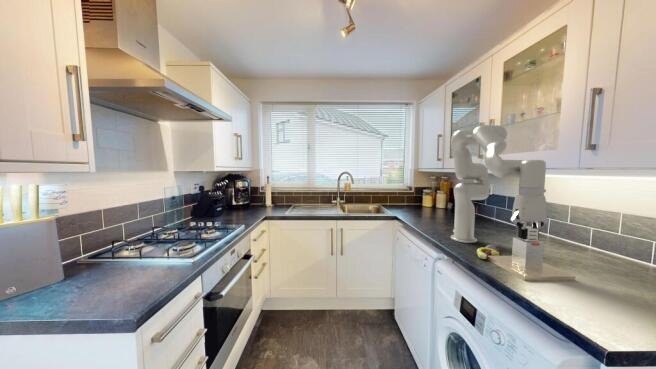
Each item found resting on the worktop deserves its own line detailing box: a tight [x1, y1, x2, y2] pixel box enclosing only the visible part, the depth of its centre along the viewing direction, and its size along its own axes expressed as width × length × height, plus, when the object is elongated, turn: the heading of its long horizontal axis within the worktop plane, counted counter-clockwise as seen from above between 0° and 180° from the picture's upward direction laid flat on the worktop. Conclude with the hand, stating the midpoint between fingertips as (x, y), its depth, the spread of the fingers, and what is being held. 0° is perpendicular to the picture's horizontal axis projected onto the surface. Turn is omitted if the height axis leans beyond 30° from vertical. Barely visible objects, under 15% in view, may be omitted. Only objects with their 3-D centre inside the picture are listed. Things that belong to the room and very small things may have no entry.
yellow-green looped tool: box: [476, 243, 505, 260], centre depth 111 cm, size 8×3×25 cm
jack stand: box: [486, 237, 576, 282], centre depth 94 cm, size 20×18×12 cm
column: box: [518, 225, 539, 242], centre depth 94 cm, size 4×4×15 cm
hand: (528, 238), depth 93 cm, fingers closed on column, 4 cm apart
